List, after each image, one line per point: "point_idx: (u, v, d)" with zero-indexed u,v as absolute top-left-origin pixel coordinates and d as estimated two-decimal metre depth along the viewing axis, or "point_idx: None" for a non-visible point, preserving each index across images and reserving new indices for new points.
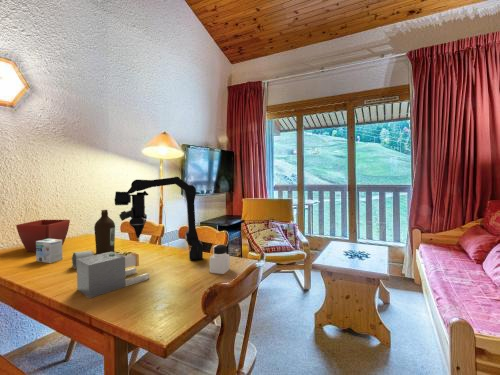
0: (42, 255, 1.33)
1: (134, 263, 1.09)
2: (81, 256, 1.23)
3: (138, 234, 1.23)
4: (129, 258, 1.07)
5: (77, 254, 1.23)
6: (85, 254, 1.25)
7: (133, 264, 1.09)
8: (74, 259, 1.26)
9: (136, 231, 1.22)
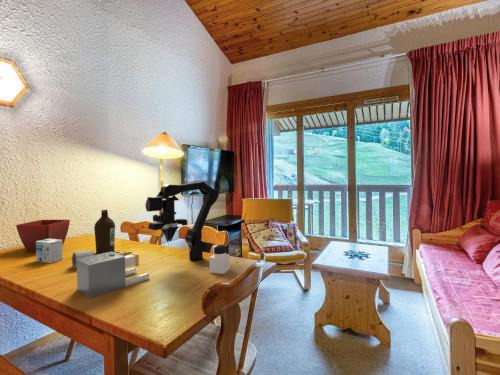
0: (42, 255, 1.33)
1: (134, 263, 1.09)
2: (81, 256, 1.23)
3: (166, 238, 1.25)
4: (129, 258, 1.07)
5: (77, 254, 1.23)
6: (85, 254, 1.25)
7: (133, 264, 1.09)
8: (74, 259, 1.27)
9: (165, 235, 1.25)
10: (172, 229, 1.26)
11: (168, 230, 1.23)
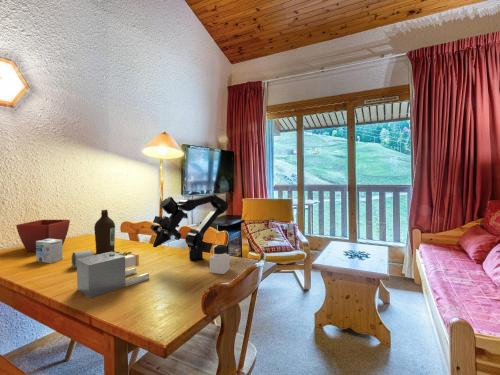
0: (42, 255, 1.33)
1: (134, 263, 1.09)
2: (80, 256, 1.23)
3: (157, 244, 1.18)
4: (129, 258, 1.07)
5: (76, 254, 1.23)
6: (85, 254, 1.25)
7: (133, 264, 1.09)
8: (74, 259, 1.27)
9: (159, 240, 1.18)
10: None
11: None
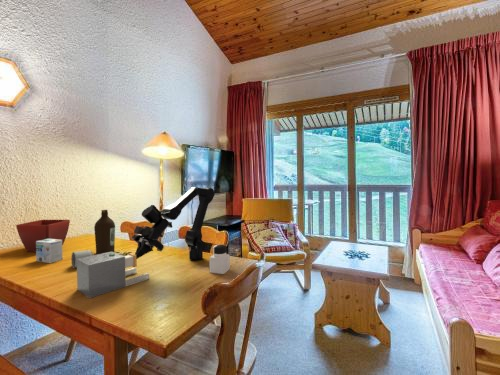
0: (42, 255, 1.33)
1: (132, 264, 1.08)
2: (80, 256, 1.24)
3: (138, 255, 1.11)
4: (127, 259, 1.07)
5: (76, 254, 1.23)
6: (85, 253, 1.26)
7: (131, 265, 1.08)
8: (73, 259, 1.27)
9: (140, 252, 1.11)
10: None
11: None
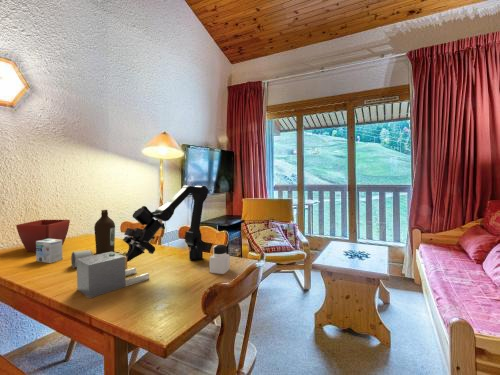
0: (42, 255, 1.33)
1: None
2: (80, 255, 1.24)
3: (129, 258, 1.08)
4: None
5: (76, 253, 1.23)
6: (84, 253, 1.26)
7: None
8: (73, 258, 1.27)
9: (131, 254, 1.08)
10: None
11: None
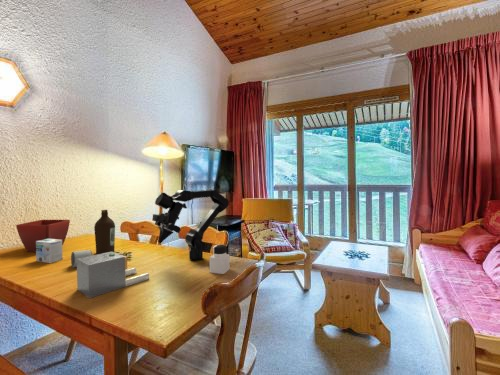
0: (42, 255, 1.33)
1: None
2: (80, 255, 1.24)
3: (162, 239, 1.23)
4: None
5: (76, 253, 1.24)
6: (84, 253, 1.26)
7: None
8: (73, 258, 1.28)
9: (162, 236, 1.23)
10: None
11: None
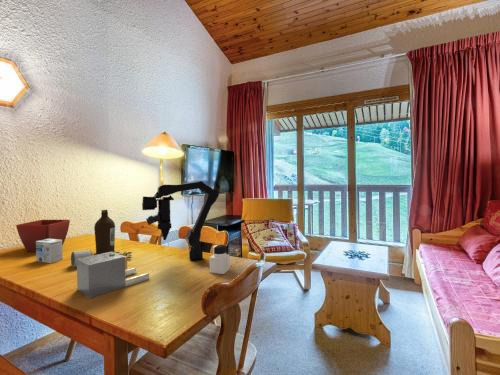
0: (42, 255, 1.33)
1: None
2: (79, 255, 1.24)
3: (165, 236, 1.29)
4: None
5: (75, 253, 1.24)
6: (84, 253, 1.26)
7: None
8: (73, 258, 1.28)
9: (163, 233, 1.28)
10: None
11: None
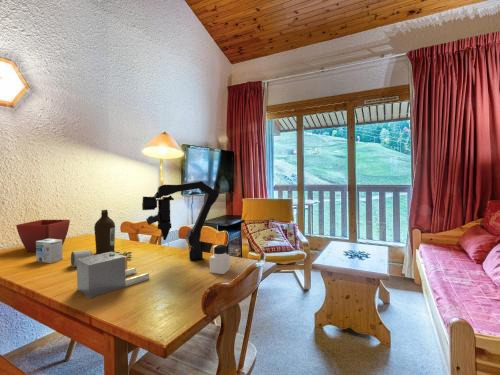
0: (42, 255, 1.33)
1: None
2: (79, 255, 1.24)
3: (165, 236, 1.29)
4: None
5: (75, 253, 1.24)
6: (84, 253, 1.26)
7: None
8: (73, 258, 1.28)
9: (163, 233, 1.28)
10: None
11: None
